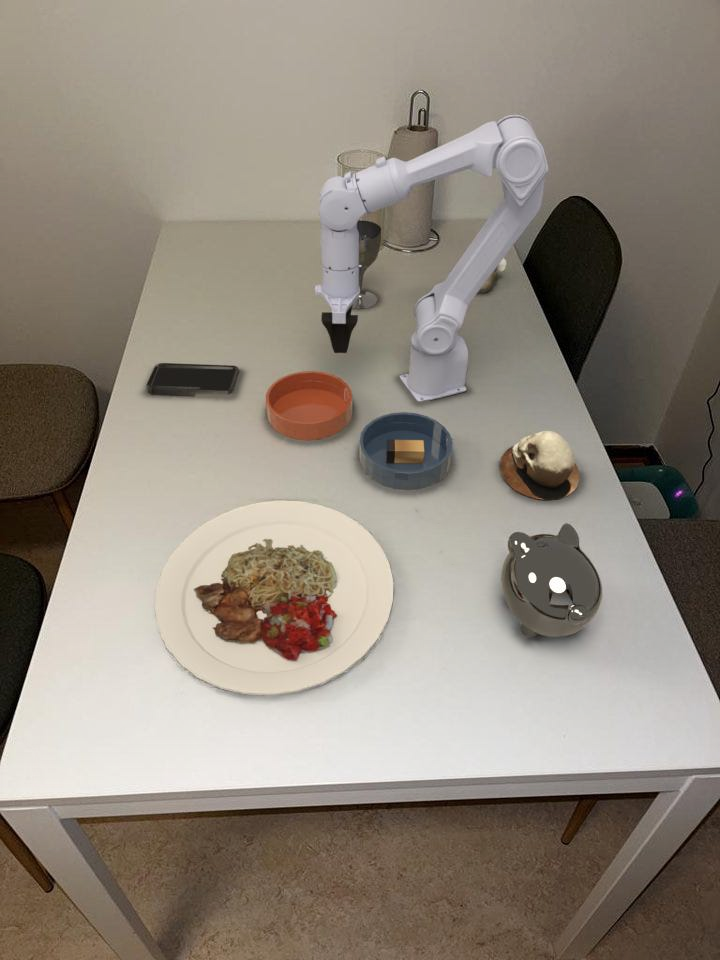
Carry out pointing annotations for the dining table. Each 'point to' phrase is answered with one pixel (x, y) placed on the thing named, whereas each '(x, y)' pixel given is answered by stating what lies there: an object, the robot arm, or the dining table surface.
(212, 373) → the phone
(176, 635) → the plated food
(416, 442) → the tan block dark cap
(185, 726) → the dining table surface
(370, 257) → the wine glass
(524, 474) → the skull
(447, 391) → the robot arm
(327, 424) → the terracotta bowl
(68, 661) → the dining table surface
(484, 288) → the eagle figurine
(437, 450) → the slate bowl
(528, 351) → the dining table surface
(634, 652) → the dining table surface
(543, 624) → the piggy bank
